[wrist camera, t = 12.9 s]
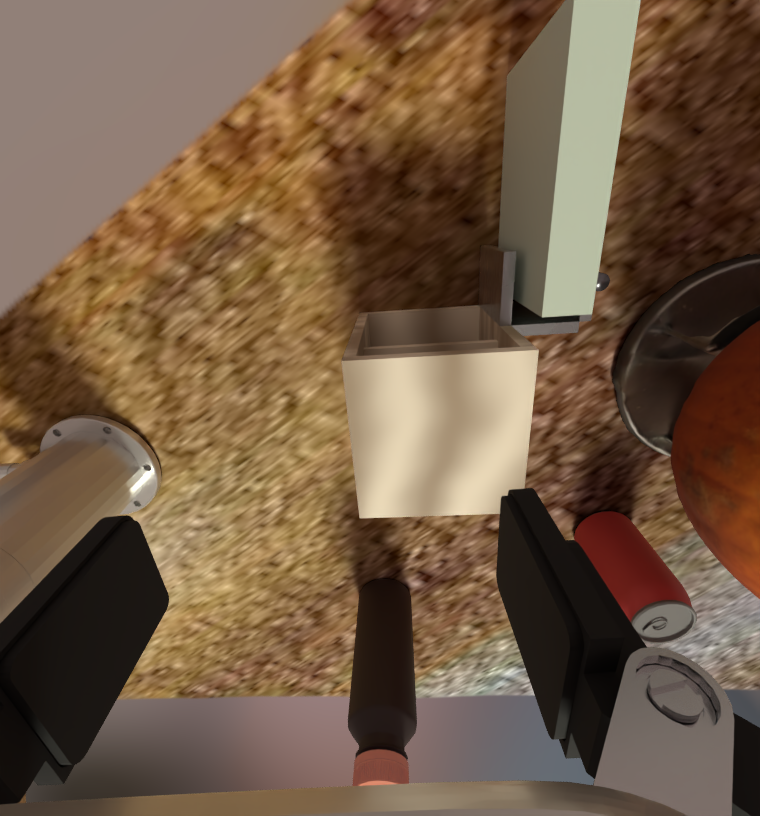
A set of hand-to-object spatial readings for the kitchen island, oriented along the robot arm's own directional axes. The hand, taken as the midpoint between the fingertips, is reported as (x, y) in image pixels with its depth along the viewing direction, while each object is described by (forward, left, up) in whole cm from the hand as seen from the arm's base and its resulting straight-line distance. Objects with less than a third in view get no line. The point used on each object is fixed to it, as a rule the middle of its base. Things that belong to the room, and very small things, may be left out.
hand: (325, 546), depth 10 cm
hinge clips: (+13, +2, -29) cm, 32 cm away
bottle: (-1, -37, -29) cm, 47 cm away
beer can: (+25, -27, -29) cm, 47 cm away
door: (+12, +9, -29) cm, 33 cm away
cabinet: (+4, -6, -29) cm, 30 cm away
